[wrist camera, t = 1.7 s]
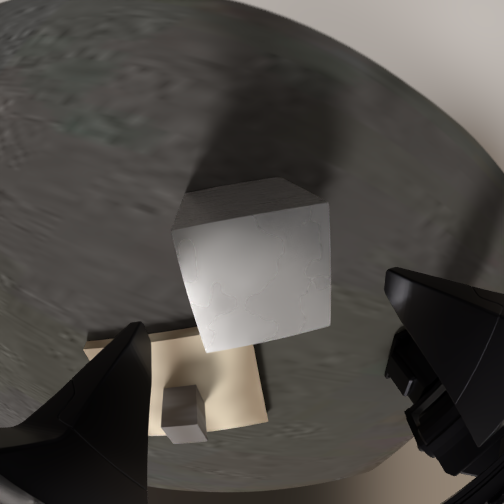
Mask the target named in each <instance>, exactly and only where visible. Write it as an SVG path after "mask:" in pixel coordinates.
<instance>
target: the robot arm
mask: <svg viewBox="0 0 504 504" xmlns="http://www.w3.org/2000/svg"><path fill="white" fill-rule="evenodd" d="M384 290H385V294H386V296H387V297H388V299H389V301H390V303H391V304H392V306H393V308H394V310H395V311H396V313H397V315H398V317H399V318H400V320H401V322H402V323H403V325H404V326H405V328H406V329H407V330H405V331H403V332H401V333H398V334H397V335H396V336H395V337H394V340H393V344H392V348H391V352H390V356H389V360H388V364H387V367H386V371H385V375H384V376H385V377H386V379H388V378H391V379H392V380H393V382H394V383H395V384H396V386H397V387H398V389H399V390H400V392H401V393H402V395H403V396H408V397H409V398H410V399H411V401H412V402H413V404H414V405H412V406H411V407H410V408H408V409H407V410H406V411H404V412H405V415H406V419H407V422H408V424H409V426H410V428H411V431H412V433H413V435H414V437H415V440H416V442H417V446H418V449H419V450H420V451H424V452H425V453H426V454H427V455H429V456H430V457H432V458H434V457H436V458H437V460H438V461H439V462H440V464H441V466H442V468H443V469H444V471H445V472H446V473H448V474H450V475H453V476H457V475H458V474H459V473H461V474H466V475H471V476H475V477H476V478H475V479H474V480H472V481H471V482H470V483H468V484H467V485H466V486H465V487H463V488H462V489H461V490H459V491H458V492H457V493H455V494H454V495H453V496H451V497H450V498H448V499H447V500H445V501H444V502H442V503H441V504H504V294H502V293H497V292H493V291H488V290H484V289H480V288H477V287H471V286H469V285H465V284H461V283H458V282H454V281H450V280H446V279H442V278H438V277H434V276H431V275H427V274H423V273H419V272H415V271H411V270H407V269H403V268H399V267H394V268H390V269H388V270H387V271H386V277H385V286H384ZM151 387H152V351H151V340H150V338H149V335H148V333H147V331H146V329H145V326H144V324H143V323H142V322H141V321H139V322H132V323H130V324H129V325H128V326H127V327H126V328H125V329H123V330H122V331H121V332H120V333H119V334H118V335H117V336H116V337H115V338H114V339H113V340H112V341H111V342H110V343H108V344H107V345H106V346H105V347H104V348H103V349H102V350H101V351H100V352H99V353H98V354H97V355H96V356H95V357H94V358H93V359H92V360H91V361H90V362H88V363H87V364H86V365H85V366H84V367H83V368H82V369H81V370H80V371H79V372H78V373H77V374H76V375H75V376H74V377H73V378H72V380H70V381H69V382H68V383H67V384H66V385H65V386H64V387H63V388H62V389H61V390H59V391H58V392H57V393H56V394H55V395H54V396H53V397H52V398H51V399H49V400H48V401H47V402H46V403H45V404H44V405H42V406H41V407H40V408H39V409H38V410H37V411H35V412H34V413H33V414H32V415H31V416H29V417H28V418H27V419H26V420H25V421H23V422H22V423H20V424H19V425H16V426H14V427H8V428H0V504H148V497H147V496H148V494H147V454H148V429H149V412H150V399H151Z"/></svg>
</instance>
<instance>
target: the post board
mask: <svg viewBox="0 0 504 504" xmlns="http://www.w3.org/2000/svg"><path fill="white" fill-rule="evenodd" d="M148 335H149V338H150V340H151V351H152V387H151V399H150V412H149V429H148V436H161V435H167V436H168V437H169V439H170V440H171V441H172V442H173V444H180V443H193V442H203V441H207V432H209V431H217V430H224V429H230V428H236V427H242V426H248V425H253V424H258V423H263V422H268V418H267V413H266V408H265V403H264V398H263V393H262V388H261V383H260V378H259V373H258V368H257V363H256V357H255V352H254V347H253V345H248V346H243V347H238V348H232V349H227V350H222V351H216V352H210V353H206V351H205V348H204V345H203V342H202V339H201V336H200V333H199V330H198V327H192V328H186V329H179V330H173V331H167V332H160V333H153V334H148ZM112 340H113V339H105V340H96V341H87V342H86V344H85V347H84V349H83V350H84V352H85V353H86V355H87V357H88V358H89V360H90V361H91V360H92V359H93V358H94V357H95V356H96V355H97V354H98V353H99V352H100V351H101V350H102V349H103V348H104V347H105V346H106V345H107V344H108V343H110V342H111V341H112Z"/></svg>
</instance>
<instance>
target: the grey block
mask: <svg viewBox="0 0 504 504" xmlns="http://www.w3.org/2000/svg"><path fill="white" fill-rule="evenodd" d="M171 234H172V238H173V242H174V246H175V250H176V254H177V258H178V262H179V265H180V269H181V273H182V276H183V280H184V283H185V287H186V290H187V294H188V297H189V300H190V304H191V307H192V310H193V314H194V317H195V320H196V323H197V326H198V330H199V333H200V336H201V339H202V342H203V345H204V348H205V351H206V353H210V352H216V351H222V350H227V349H232V348H238V347H243V346H248V345H253V344H257V343H262V342H267V341H271V340H276V339H280V338H284V337H288V336H292V335H297V334H301V333H305V332H308V331H312V330H316V329H320V328H323V327H327V326H330V315H331V246H330V218H329V202H327V201H325V200H323V199H321V198H319V197H318V196H316V195H314V194H312V193H310V192H308V191H306V190H305V189H303V188H301V187H299V186H297V185H295V184H293V183H291V182H289V181H287V180H285V179H283V178H281V177H274V178H267V179H261V180H254V181H248V182H242V183H236V184H230V185H225V186H219V187H214V188H208V189H203V190H198V191H193V192H188V193H185V194H184V197H183V199H182V202H181V205H180V207H179V210H178V212H177V215H176V218H175V220H174V223H173V226H172V229H171Z"/></svg>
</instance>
